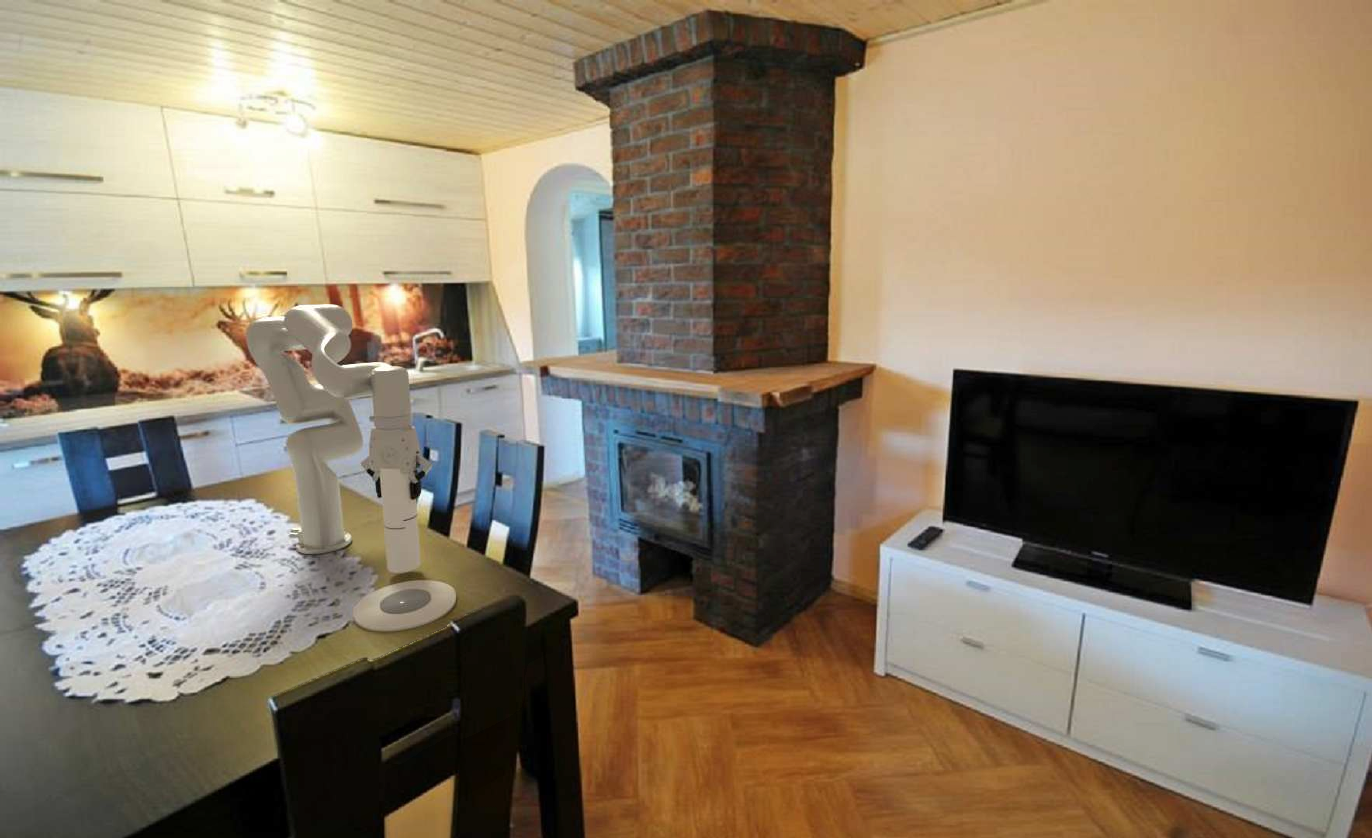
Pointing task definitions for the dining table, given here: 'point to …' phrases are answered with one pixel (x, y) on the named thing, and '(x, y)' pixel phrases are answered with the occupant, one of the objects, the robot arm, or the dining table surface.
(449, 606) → the plate
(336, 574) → the dining table surface
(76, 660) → the dining table surface
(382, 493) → the cylindrical container
